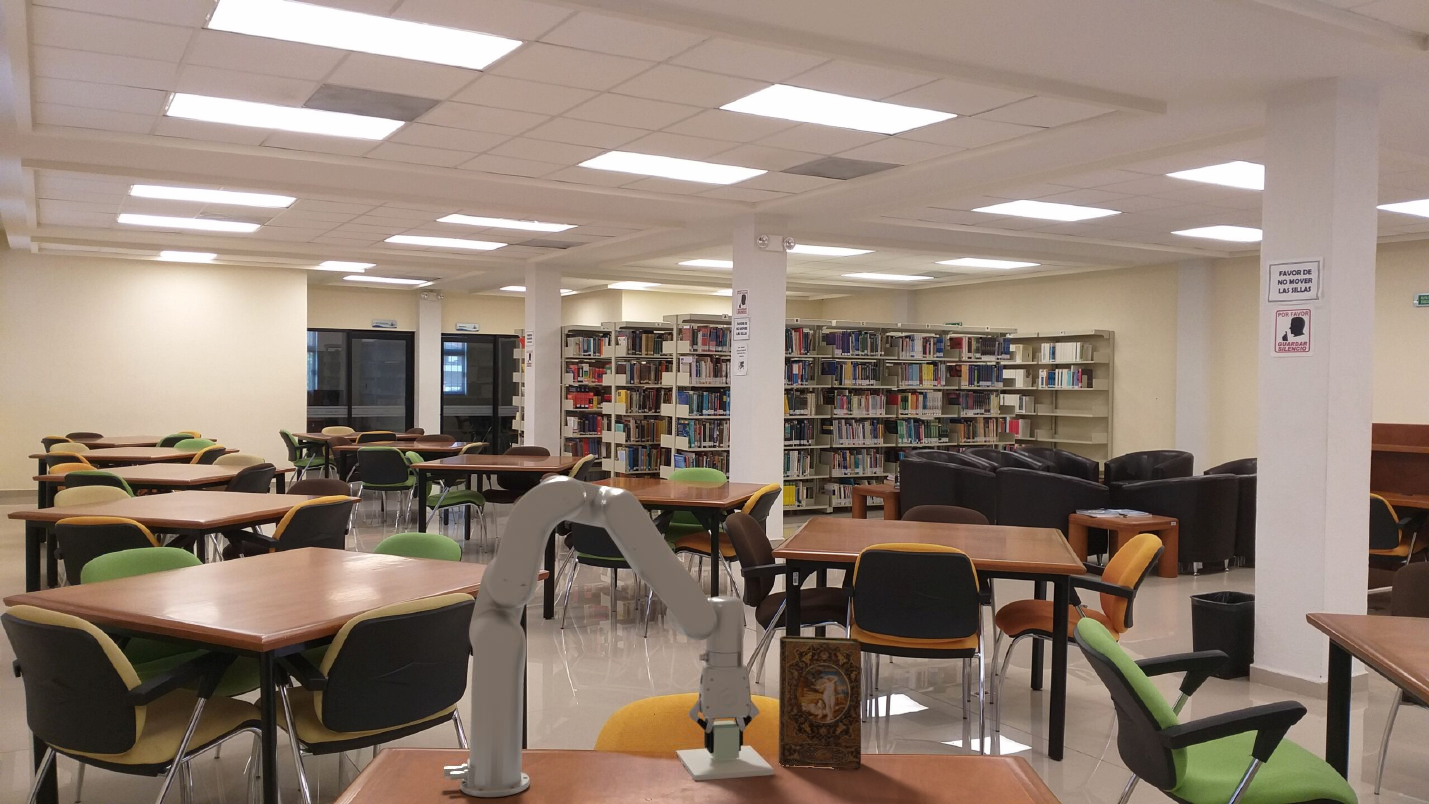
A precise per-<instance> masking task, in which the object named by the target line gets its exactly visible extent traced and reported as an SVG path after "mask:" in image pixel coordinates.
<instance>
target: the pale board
mask: <svg viewBox="0 0 1429 804" xmlns="http://www.w3.org/2000/svg"><path fill="white" fill-rule="evenodd" d="M676 752H677V754H678V756H679V758H680V759H681V761H682V762H683V764H684V765H685V767H686V768H685V767H684V768H685V770H686V769H687V770H688V771H687V770H686V771H687V773H688V772H689V773H690V774H689V773H688V774H689V775H690V777H691V776H692V777H691V778H692V779H693V780H697V781H707V780H709V781H710V780H721V779H734V778H735V779H736V778H746V777H747V778H748V777H749V778H750V777H757V776H758V777H760V776H774V775H775V769H774V768H773V767H772V766H771V765H770V764H769V763H768V762H767V761H766V760H765V758H763V757H762V756H761V755H760V754H759V753H758V752H757V751H756V750H755V749H754V748H753V747H752V746H751V745H743V746H741V751H739V758H730V759H716V760H715V759H714V758H713V757H712V756H711V754H710V753H709V752H708V750H707V748H696V749H681V750H680V749H679V750H675V753H676ZM683 764H682V765H683Z"/></svg>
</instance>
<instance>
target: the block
mask: <svg viewBox="0 0 1429 804" xmlns="http://www.w3.org/2000/svg"><path fill="white" fill-rule="evenodd" d="M712 732H713V733H714V752H713V753H710V754H711V756H712V757H713V758H714V759H715V760H716V759H730V758H739V726H738V725H737V724H736V723H735V721H734V720H720V721H719V720H718V721H714V724H713V727H712ZM708 752H709V751H708Z"/></svg>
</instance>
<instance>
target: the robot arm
mask: <svg viewBox="0 0 1429 804" xmlns="http://www.w3.org/2000/svg"><path fill="white" fill-rule="evenodd" d="M511 509H512V510H511V511H510V513H509V514H508V517H507V520H506V522H505V525H504V529H503V532H502V536H501V538H500V543H499V546H498V549H497V553H496V556H495V557H494V558H492V559H491V560H490V562H488V564H487V565H486V567H485V569H484V571H483V574H482V577H481V580H480V582H479V583H480V584H479V588H478V592H477V595H476V599H475V603H474V608H473V611H472V615H471V619H470V620H471V621H470V623H469V629H468V630H469V631H468V632H469V633H468V637H469V642H470V645H471V647H472V668H471V669H472V671H471V672H472V673H471V689H470V690H471V691H470V729H469V730H470V732H469V733H470V734H469V736H470V737H469V758H467V763H462V764H461V765H459V766H454V765H449V766H448V765H447V766H444V768H443V769H444V770H443V777H444V778H450V781H455V780H457V781H458V780H460V784H459V786H460V787H459V788H460V790H461V792H463V793H464V794H465V795H469V796H473V797H479V798H498V797H499V798H500V797H507V796H510V795H514V794H515V795H516V794H519V793H521V792H523V791H524V790H526V789H527V788H528V787H529V786H530V781H531V780H530V779H531V778H530V776H529V775H528V774H527V773H525V772H522V765H523V764H522V763H523V761H522V759H523V725H524V724H523V720H524V719H523V717H524V683H525V681H524V678H525V668H526V658H527V657H526V656H527V639H526V633H525V630H524V628H523V627H522V625H521V621H522V616H523V612H524V608H525V605H527V604H528V603H529V602H530V601H531V600H532V598H533V597H534V595H535V593H536V590H537V586H538V582H539V581H538V580H539V575H540V572H541V567H542V563H543V558H544V554H545V551H546V547H547V545H548V541H549V538H550V535H551V533H552V532H553V530H555V528H556V526H558V525H559V524H560V523H562V522H563V521H569V522H572V523H577V524H578V523H579V524H583V525H587V526H593V527H598V528H603V529H605V530H606V532H607V534H608V535H609V537H610V538H611V540H612V541H613V542H614V544H615V545H616V547H617V548H618V550H619V551H620V553H621V554H622V555H623V557H624V559H625V560H626V562H627V564H628V566H630V568H631V569H632V571H633V572H634V573H635V574H636V576H637V577H638V578H639V579H640V580H641V581H642V582H643V583H644V584H646V585H647V586H648V587H649V588H651V590H652V591H653V592H655V594H656V595H657V596H658V598H660V599H661V600H662V602H663V603H664V605H665V606H666V607H667V608H666V613H665V614H666V615H665V616H666V619H667V623H668V624H669V626H670V627H671V628H672V629H673V630H674V631H676V632H678V633H679V634H681V635H683V636H685V637H686V638H688V639H689V640H692V641H698V642H699V641H704V640H706V642H705V643H706V645H705V646H706V647H705V650H704V652H703V653H699V656H698V657H699V661H701V662H705V664H703V666H702V669H701V675H700V681H699V687H698V688H699V689H698V700H696V703H694V705H693V706H692V708H691V709H690V710H689V712H688V713H687V714H688V717H689V718H690V719H691V720H692V721H694V722H695V723H696V724H697V725H699V726H700V728H702V729H703V731H704V737H703V738H704V742H703V745H704V749H707V750H708V751H709V753H713V752H714V733H713V732H712V727H713V724H714V722H715V720H722V719H725V720H726V719H734V723H736V724H737V725H738V726H739V751H741V746H744V731H746V728H747V726H748V725H749V724H750V723H751V722H752V720H753V719H755V718H756V717H757V716H758V715H760V710H759V708H758V707H757V706H756V704H755V703H754V702H753V701H752V694H751V683H750V681H751V680H750V676H749V674H750V673H749V669H748V665H746V664H744V634H745V633H744V628H745V627H744V626H745V625H744V619H745V611H744V610H745V608H744V606H745V605H744V601H743V600H742V598H739V597H737V596H728V595H721V596H720V595H719V596H713V597H707V595H706V594H705V593H704V591H703V589H702V588H701V587H700V585H699V584H698V582H697V581H696V579H695V578H694V577H693V576H692V574H691V573H690V572H689V571H688V569H687V568H686V566H685V565H684V564H683V563H682V561H681V560H680V559H679V557H678V556H677V554H676V553H675V552H674V550H672V548H671V547H670V546H669V544H668V543H667V541H666V540H665V538H664V536H663V535H662V533H661V532H660V531H659V530H658V527H657V526H656V525H655V524H654V522H653V519H651V517H650V515H649V514H648V512H647V511H646V509H645V508H644V507H643V504H642V503H641V502H640V501H639V499H638V498H637V497H636V495H635V494H633V492H631V491H629V490H627V489H625V488H619V487H613V486H607V485H600V484H595V483H593V482H592V483H591V482H586V481H583V480H579V479H576V478H574V477H571V476H567V475H551V476H548V477H547V478H544V479H543V480H542V481H541V482H540V483H539V484H537V485H536V486H534V487H532V488H531V489H529V490H528V491H527V492H525V494H523V495H522V496H521V497H520V499H518V501H517V502H516V503H515V505H514V506H513V508H511ZM699 713H701V715H702V716H703V717H704V719H703V718H702V717H700V715H699Z"/></svg>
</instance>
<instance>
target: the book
mask: <svg viewBox="0 0 1429 804" xmlns="http://www.w3.org/2000/svg"><path fill="white" fill-rule="evenodd" d="M778 674H779V676H778V677H779V681H778V682H779V685H778V686H779V690H778V692H779V693H778V697H779V699H778V703H779V704H778V705H779V706H778V707H779V708H778V764H779V763H780V764H781V765H784V766H786V765H789V766H794V765H795V766H814V767H832V768H834V769H833V770H839V769H847V771H849V770H850V771H851V770H854V771H855V770H859V769H860V767H861V762H862V647H861V645H860V640H859V638H857V637H832V636H830V637H828V636H800V635H799V636H798V635H794V636H793V635H785V636H780V637H779V673H778Z"/></svg>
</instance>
